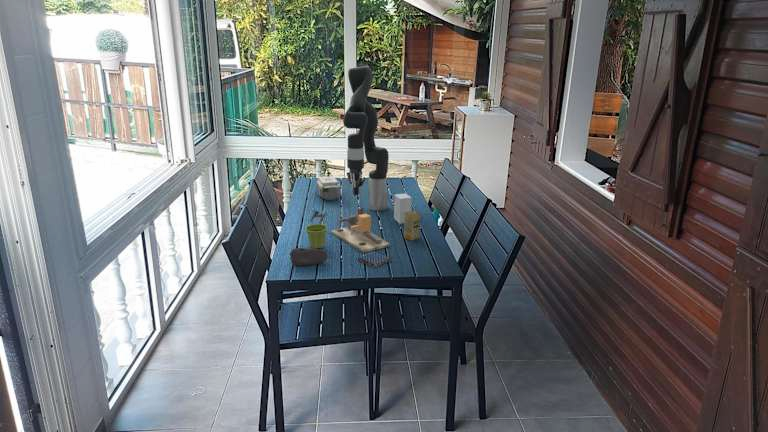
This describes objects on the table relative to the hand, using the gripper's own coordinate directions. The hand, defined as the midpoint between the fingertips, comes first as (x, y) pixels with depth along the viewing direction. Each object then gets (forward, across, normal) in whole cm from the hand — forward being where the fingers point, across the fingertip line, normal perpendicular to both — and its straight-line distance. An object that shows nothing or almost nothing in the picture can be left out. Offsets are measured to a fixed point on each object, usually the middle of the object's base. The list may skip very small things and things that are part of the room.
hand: (355, 194), depth 233 cm
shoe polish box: (+19, -19, -18) cm, 32 cm away
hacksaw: (+19, +25, +6) cm, 32 cm away
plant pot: (+19, -5, +23) cm, 30 cm away
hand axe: (+19, +19, -10) cm, 29 cm away
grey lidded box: (+19, +60, -17) cm, 65 cm away
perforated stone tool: (+19, -20, +34) cm, 44 cm away
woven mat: (+19, -31, +10) cm, 38 cm away
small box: (+19, +2, -28) cm, 34 cm away
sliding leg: (+16, -7, +2) cm, 18 cm away
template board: (+19, -8, +3) cm, 20 cm away
